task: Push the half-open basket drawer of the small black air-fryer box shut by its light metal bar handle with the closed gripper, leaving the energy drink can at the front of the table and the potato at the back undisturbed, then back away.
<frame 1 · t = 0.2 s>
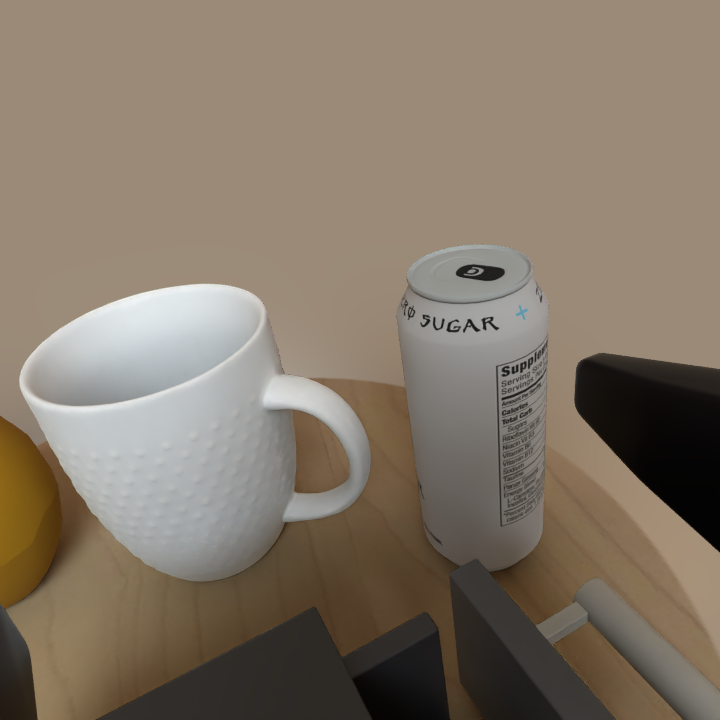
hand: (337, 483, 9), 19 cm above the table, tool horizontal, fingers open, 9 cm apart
energy drink can: (482, 535, 31), on the table
mug: (241, 537, 33), on the table
apple: (5, 592, 32), on the table
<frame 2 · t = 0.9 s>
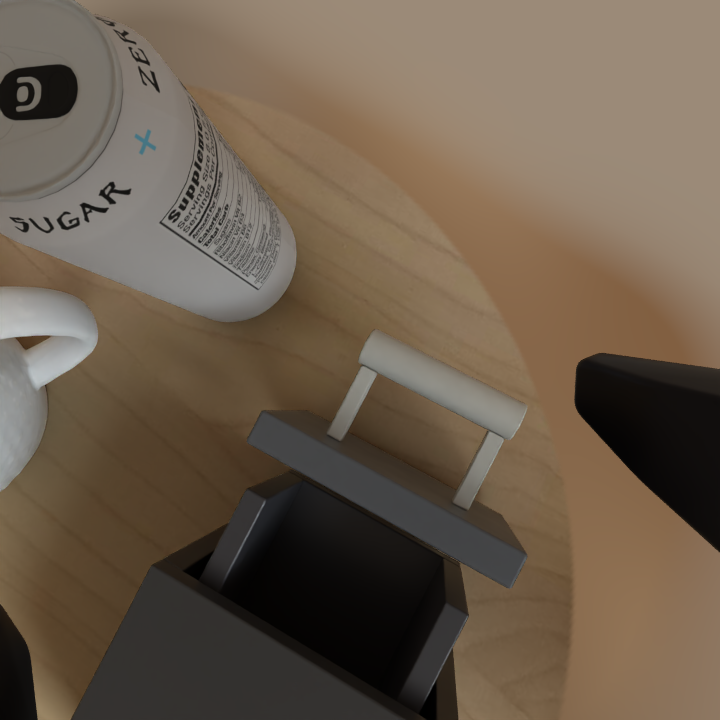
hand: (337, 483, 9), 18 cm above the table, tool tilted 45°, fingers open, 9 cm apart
energy drink can: (240, 262, 28), on the table
mug: (8, 402, 29), on the table
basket: (351, 557, 22), point 4 cm above the table, slide at 4.5 cm
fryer: (277, 703, 26), on the table
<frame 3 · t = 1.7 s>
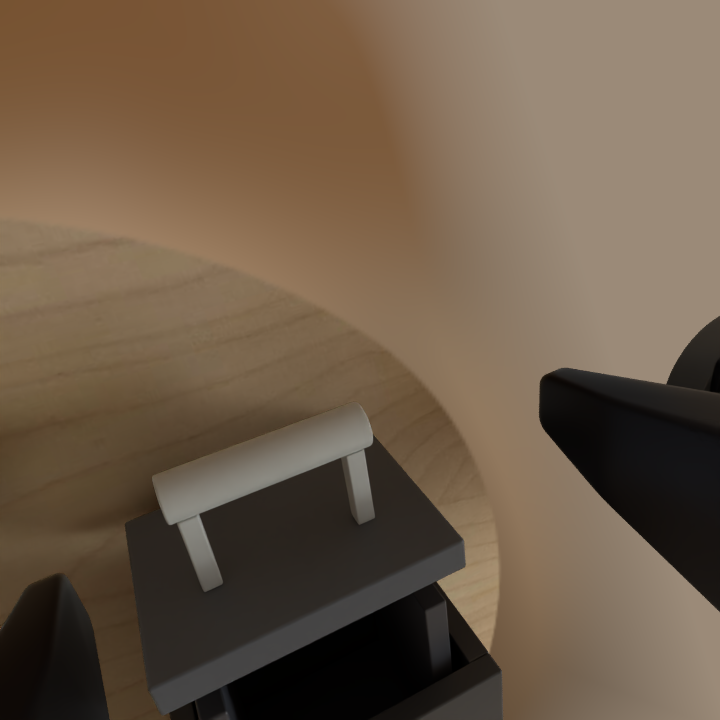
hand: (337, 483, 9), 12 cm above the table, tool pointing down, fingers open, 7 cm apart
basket: (302, 605, 21), point 4 cm above the table, slide at 4.5 cm
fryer: (303, 653, 28), on the table
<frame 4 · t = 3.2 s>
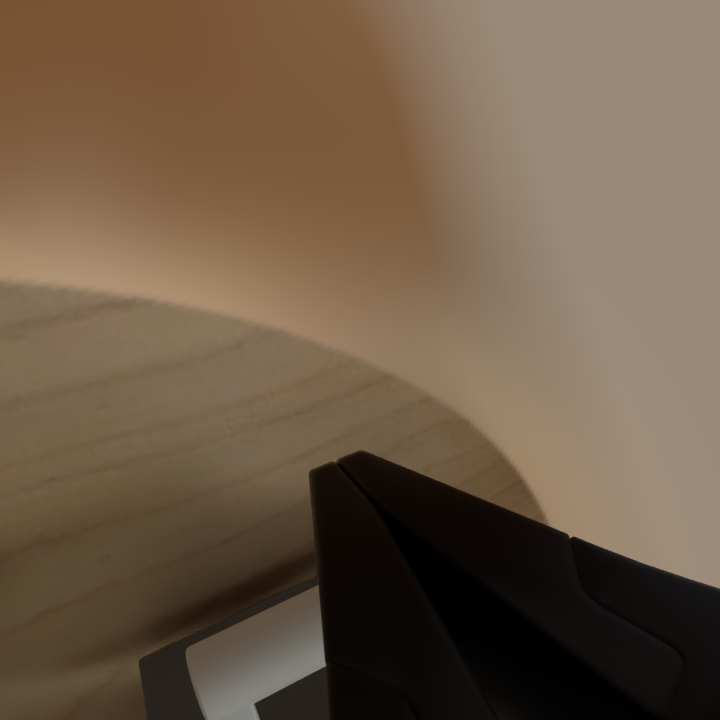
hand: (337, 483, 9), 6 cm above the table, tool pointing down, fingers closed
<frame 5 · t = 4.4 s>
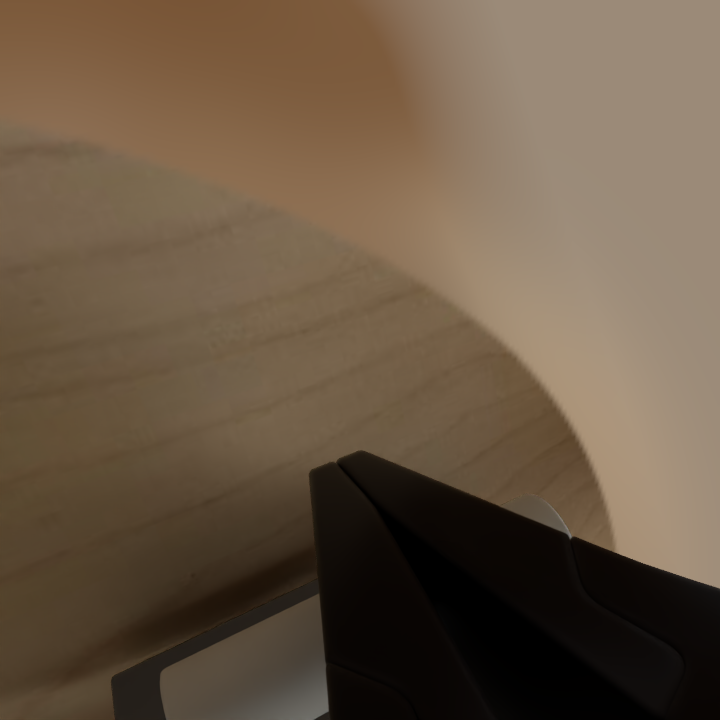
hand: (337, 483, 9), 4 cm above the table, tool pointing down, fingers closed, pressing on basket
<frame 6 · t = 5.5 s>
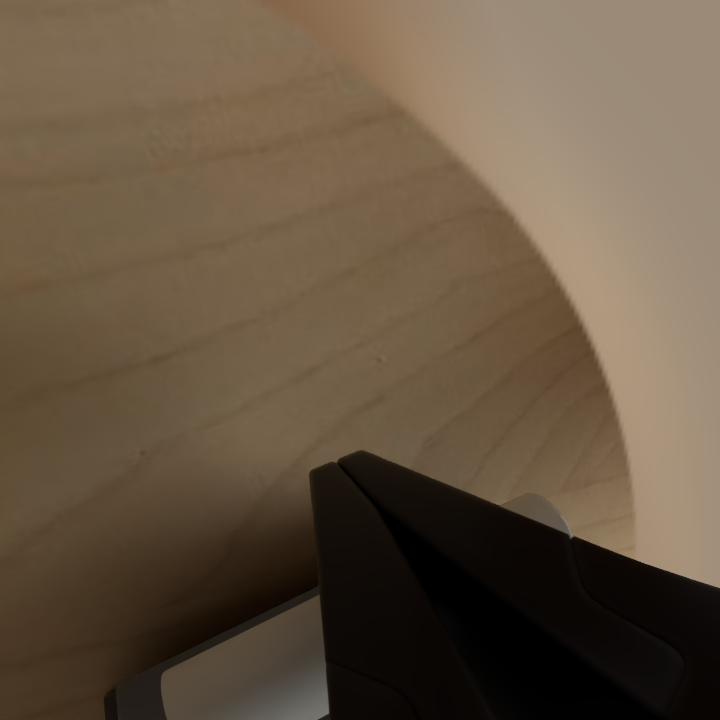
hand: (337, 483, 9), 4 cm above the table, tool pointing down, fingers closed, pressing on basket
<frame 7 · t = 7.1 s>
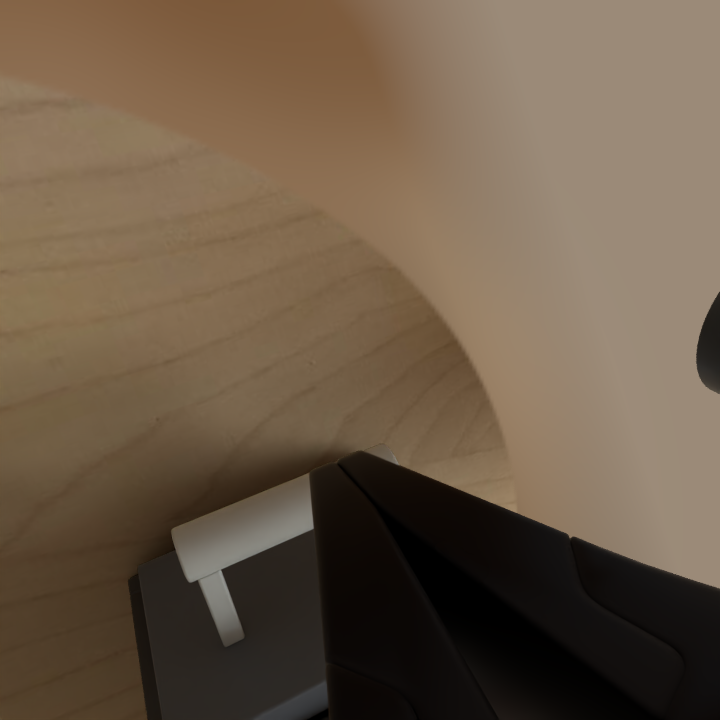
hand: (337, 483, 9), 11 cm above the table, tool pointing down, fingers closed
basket: (324, 649, 20), point 4 cm above the table, slide at 0.0 cm, touching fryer
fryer: (301, 624, 25), on the table
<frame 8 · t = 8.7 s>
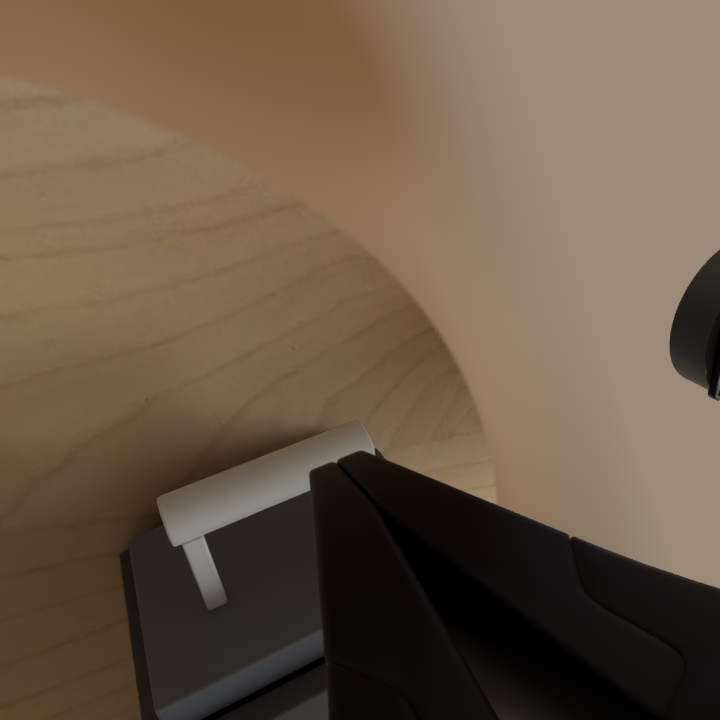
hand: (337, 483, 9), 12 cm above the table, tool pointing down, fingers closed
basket: (305, 619, 21), point 4 cm above the table, slide at 0.0 cm, touching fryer
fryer: (287, 601, 26), on the table
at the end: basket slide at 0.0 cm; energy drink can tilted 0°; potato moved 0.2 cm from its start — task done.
